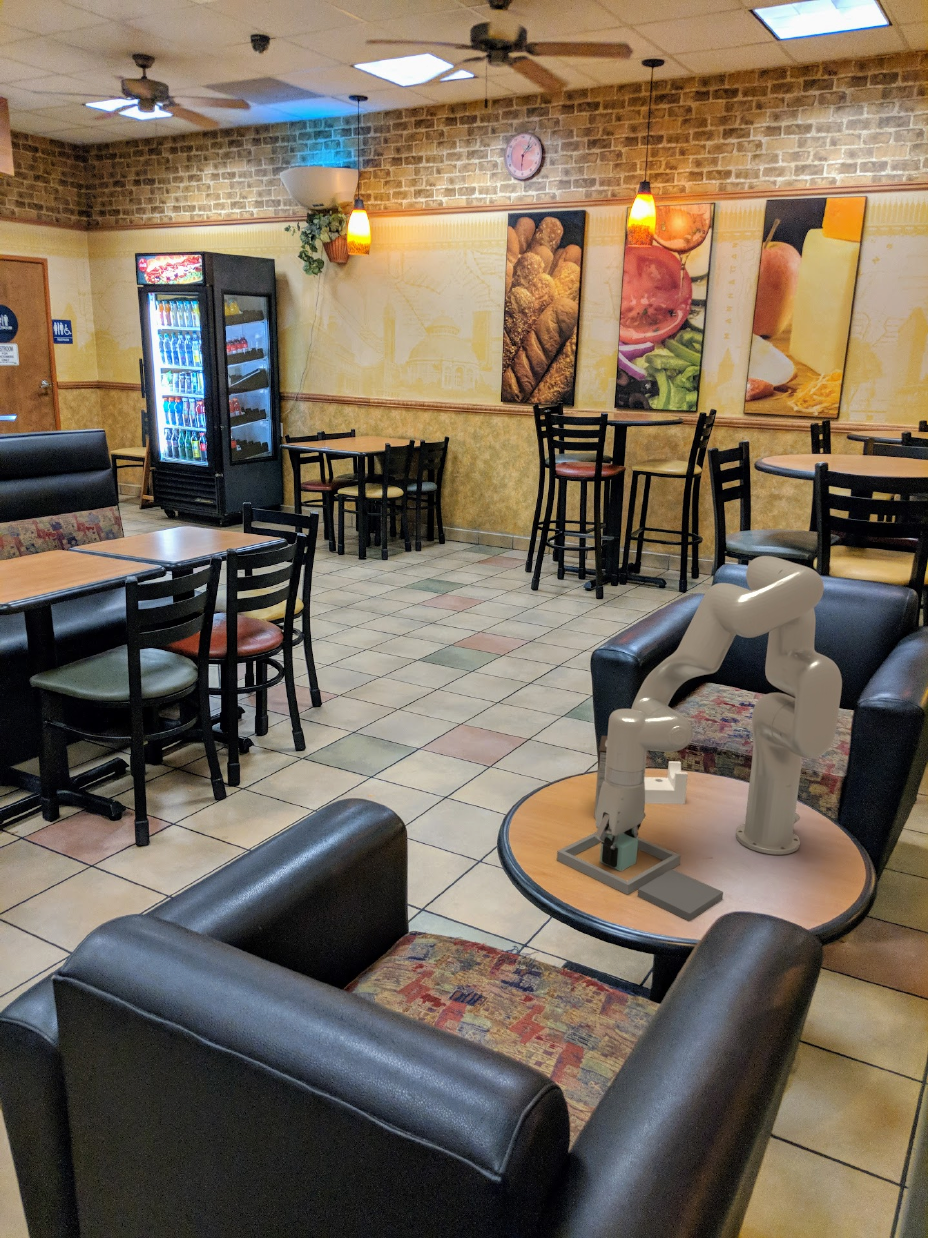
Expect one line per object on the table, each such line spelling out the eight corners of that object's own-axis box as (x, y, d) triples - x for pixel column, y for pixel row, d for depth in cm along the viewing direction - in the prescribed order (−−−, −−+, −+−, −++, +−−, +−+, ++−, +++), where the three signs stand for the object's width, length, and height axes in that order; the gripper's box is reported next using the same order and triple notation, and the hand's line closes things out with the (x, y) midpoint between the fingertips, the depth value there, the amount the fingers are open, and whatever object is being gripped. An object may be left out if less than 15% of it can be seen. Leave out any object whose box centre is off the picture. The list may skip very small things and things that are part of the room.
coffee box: (596, 801, 212) (601, 734, 208) (625, 804, 211) (630, 737, 207) (593, 819, 203) (598, 749, 199) (623, 822, 202) (629, 752, 198)
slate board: (671, 876, 180) (672, 869, 180) (722, 899, 173) (723, 892, 172) (637, 896, 173) (638, 888, 173) (689, 921, 165) (689, 913, 165)
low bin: (609, 834, 197) (610, 825, 196) (679, 864, 185) (680, 855, 184) (556, 860, 185) (557, 851, 184) (627, 895, 173) (628, 885, 173)
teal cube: (615, 853, 188) (617, 830, 187) (636, 863, 185) (638, 839, 184) (599, 861, 185) (601, 838, 184) (620, 871, 181) (622, 847, 180)
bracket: (677, 792, 219) (679, 761, 217) (684, 805, 212) (687, 774, 210) (621, 791, 218) (623, 760, 216) (627, 804, 211) (629, 772, 210)
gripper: (635, 756, 189) (628, 839, 193) (581, 779, 177) (575, 867, 182) (666, 768, 184) (659, 853, 188) (613, 792, 172) (606, 882, 176)
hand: (618, 859), depth 185 cm, fingers closed on teal cube, 5 cm apart
